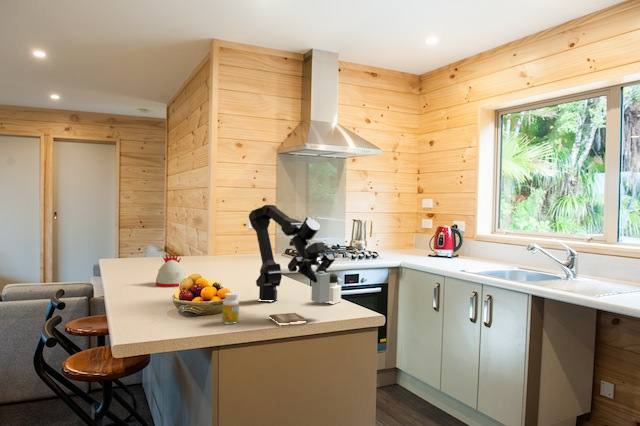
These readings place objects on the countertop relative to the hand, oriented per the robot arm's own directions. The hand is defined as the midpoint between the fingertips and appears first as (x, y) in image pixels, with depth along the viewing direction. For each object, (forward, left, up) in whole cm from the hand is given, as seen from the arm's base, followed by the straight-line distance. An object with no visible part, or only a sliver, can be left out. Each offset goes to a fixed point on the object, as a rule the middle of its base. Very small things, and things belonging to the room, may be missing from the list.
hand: (321, 281), depth 167 cm
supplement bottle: (-26, -19, -14) cm, 35 cm away
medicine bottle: (-5, +28, -14) cm, 31 cm away
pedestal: (-9, -9, -13) cm, 18 cm away
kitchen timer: (-84, +29, -14) cm, 90 cm away
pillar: (0, 0, -7) cm, 7 cm away
